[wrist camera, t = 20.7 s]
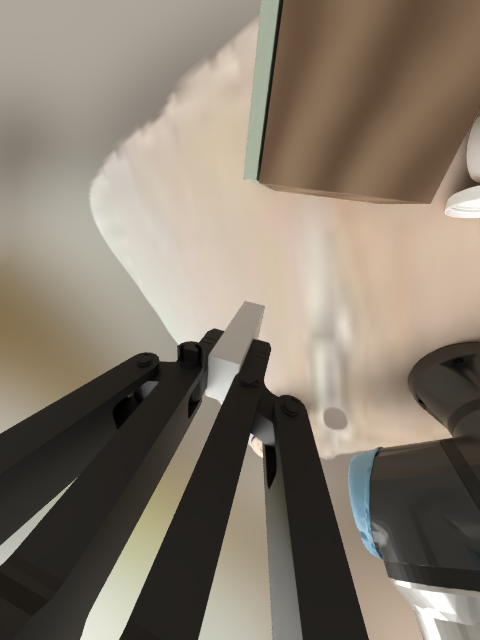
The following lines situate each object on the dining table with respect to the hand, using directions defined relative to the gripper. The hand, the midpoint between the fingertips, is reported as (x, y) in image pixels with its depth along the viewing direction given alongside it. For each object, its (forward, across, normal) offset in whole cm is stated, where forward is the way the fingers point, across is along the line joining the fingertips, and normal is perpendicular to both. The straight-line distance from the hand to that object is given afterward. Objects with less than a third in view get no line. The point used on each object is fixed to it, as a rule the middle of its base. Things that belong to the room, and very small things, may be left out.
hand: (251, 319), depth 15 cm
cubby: (+21, -4, -17) cm, 27 cm away
